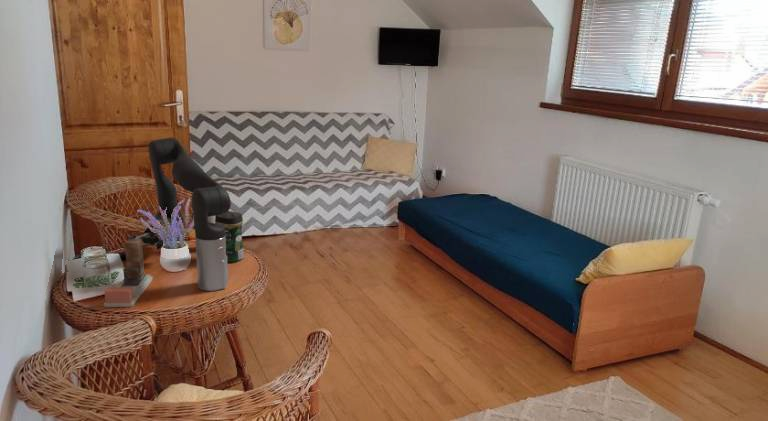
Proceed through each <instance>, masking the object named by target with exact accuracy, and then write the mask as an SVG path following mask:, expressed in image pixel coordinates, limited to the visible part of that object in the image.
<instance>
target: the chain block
mask: <svg viewBox="0 0 768 421" xmlns="http://www.w3.org/2000/svg"><path fill="white" fill-rule="evenodd" d="M142 243H143V242H142V239H129V240H126V241H125V242H124V249H125V250H124V251H125V259H126V260H125V261H126V262H125V263H126V264H125V265H126V267H124V268H122V271H123V279H124V284H125V285H139V284H140V282H141V281H142V280H143V278H144V277H145V276H146V273H145V263H144V250H143V245H142Z"/></svg>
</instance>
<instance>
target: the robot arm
mask: <svg viewBox="0 0 768 421" xmlns="http://www.w3.org/2000/svg"><path fill="white" fill-rule="evenodd" d="M147 149H148V155H149V160H150V164H151V169H152V173H153V178H154V181H155V185H156V186H155V187H156V191H157V192H156V193H157V201H158V202H157V203H158V207H159V206H160V207H161V209H160V210H159V211H156V214H155V218H156V219H157V220H158V221H159V222H160V224H161V225H164V224H163V221H162V217H161V213H160V211H162V210H165V209H166V207H167V210H166V214H167V219H168V221H169V223H171V214H172V212H173V209H174V208H175V207H176V206H177V205H178V206H179V203H178V192H177V188H176V185H175V184H174V183H173V182H172V180H171V179H170V178H169V177H168V176H167V175H166V174H165V172H164V171H163V168H162V166H164V165H168V164H172V167H171V168H172V169H171V174H172V175H171V176H172V178H173V179H174V180H175V182H176V183H177V184H178V185H179V186H180V187H181V188H182V189H184V190H186V191H188V192H191V207H192V216H193V226H194V233H195V235H194V236H195V255H196V274H197V276H196V277H197V281H196V282H197V288H198V289H199V290H201V291H209V292H210V291H212V292H213V291H219V290H225V289H226V288H227V286H228V283H229V271H228V270H229V269H228V268H229V267H228V264H229V262H227V255H226V241H225V228H224V227H223V226H222V225H219V224H215V223H210V222H208V217H209V216H216V215H222V214H225V213H226V212H228V211H230V209H231V205H232V203H231V197H230V194H229V193H228V191H227V190H226V188H225V187H224V186H222V185H221V184H220V183H219V182H217V181H216V180H214V179H213V178H212V177H210V175H209V174H208V173H206V172H205V170H203V168H202V167H201V166H200V164H198V163H197V162H196V161H195V160H194V159H193V158H192V157H191V155H189V153H188V152H187V151H186V150H185V148H184V147H183V145H182V143H181V142H180V141H179V140H178V139H177V138H175V137H166V138H160V139H155V140H151V141H150V142H149V143H148V146H147ZM160 207H159V208H160ZM179 217H181V220H182V223H183V224H184V215H183V213H182V211H181V209H180V210H179ZM155 218H154V219H155ZM149 226H150V227H152V228H153V226H152V225H151V224H149ZM129 239H142V246H145V245H150V246H156V250H160V249H162V248H163V247H164V246H163V240H162V239H161V237H160V236H159V235H158V234H157V233H153V232H151V231H150V229H149V228H148V227H146V229H145V230H144V232H143V234H141V235H137V234H136V233H132V235H130V236H129V237H128V238H127V239H126V241H128V240H129Z"/></svg>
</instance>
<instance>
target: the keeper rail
mask: <svg viewBox="0 0 768 421" xmlns="http://www.w3.org/2000/svg"><path fill="white" fill-rule="evenodd" d="M152 281H153V275H150V273H149V274H145V277H144V278H143V280H142V281H141V282H140V284H139V285H125V284H124V278H123V279H122V280H121V281H120V283H118V285H117V286H115V287H114V286H113V287H112V286H107V288H106V289H105V290H104V298H105V301H104V303H103V307H104V308H112V307H113V308H117V307H118V308H120V307H121V308H122V307H123V308H126V307H127V308H128V307H134V306H135V303H136V302H137V301H138V300H139V298H140V297H141V295H143V294H144V292H145V291H146V289H147V288H148V286H149V285H150V283H151V282H152Z"/></svg>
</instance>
